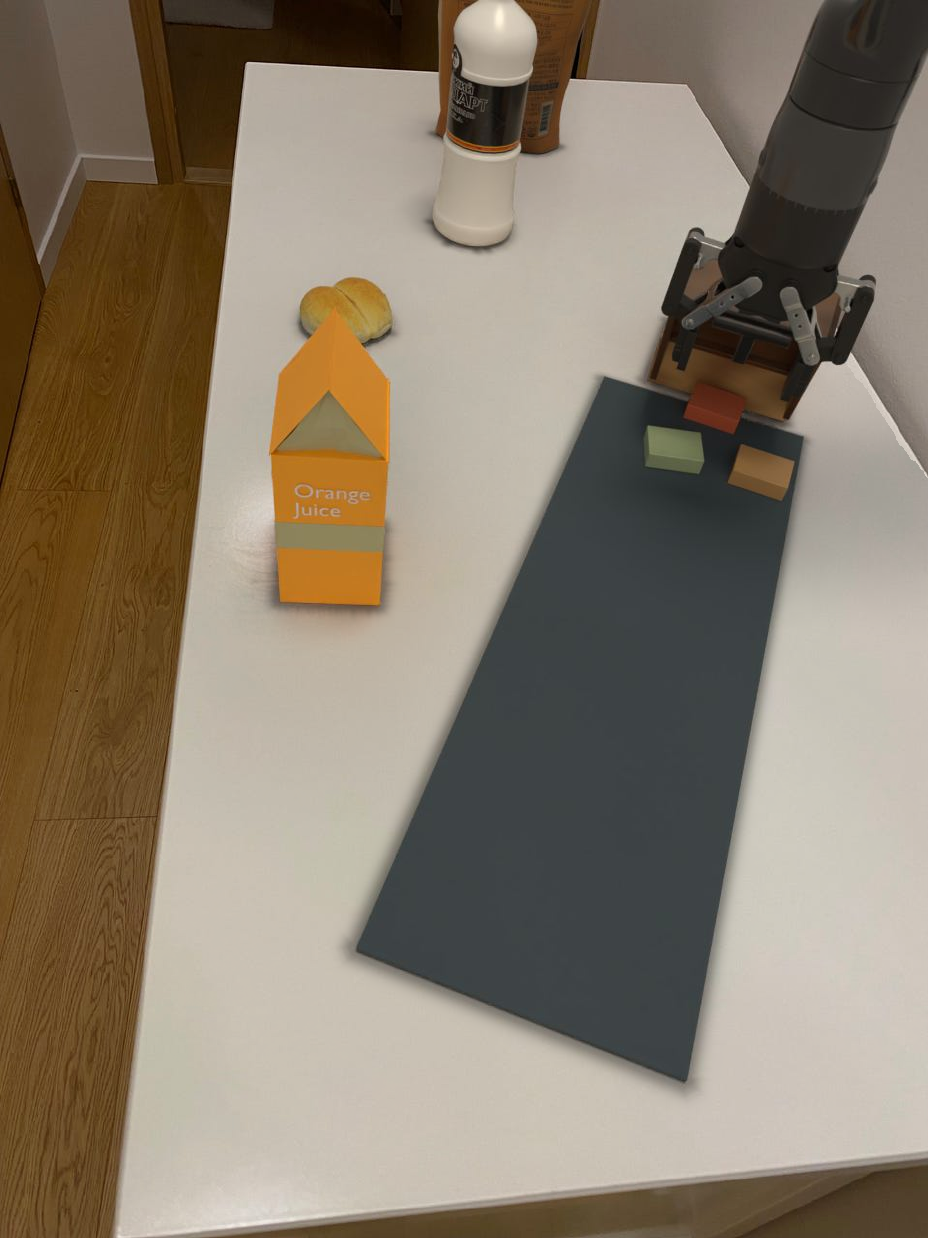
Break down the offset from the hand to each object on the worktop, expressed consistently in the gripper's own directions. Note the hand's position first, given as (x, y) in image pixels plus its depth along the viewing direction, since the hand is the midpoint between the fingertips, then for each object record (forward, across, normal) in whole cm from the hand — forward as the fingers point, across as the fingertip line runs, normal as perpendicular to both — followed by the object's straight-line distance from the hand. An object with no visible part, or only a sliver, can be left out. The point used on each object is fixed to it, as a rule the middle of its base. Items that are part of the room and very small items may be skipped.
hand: (733, 380), depth 75 cm
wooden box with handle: (-1, 0, -13) cm, 13 cm away
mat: (+12, +1, +18) cm, 22 cm away
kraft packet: (+10, -6, -5) cm, 13 cm away
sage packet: (+10, +2, -4) cm, 11 cm away
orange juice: (+13, +25, +21) cm, 35 cm away
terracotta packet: (+10, 0, -12) cm, 16 cm away
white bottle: (+13, +32, -33) cm, 48 cm away
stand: (+12, 0, -20) cm, 24 cm away
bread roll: (+13, +37, -9) cm, 40 cm away
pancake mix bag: (+13, +36, -55) cm, 67 cm away
